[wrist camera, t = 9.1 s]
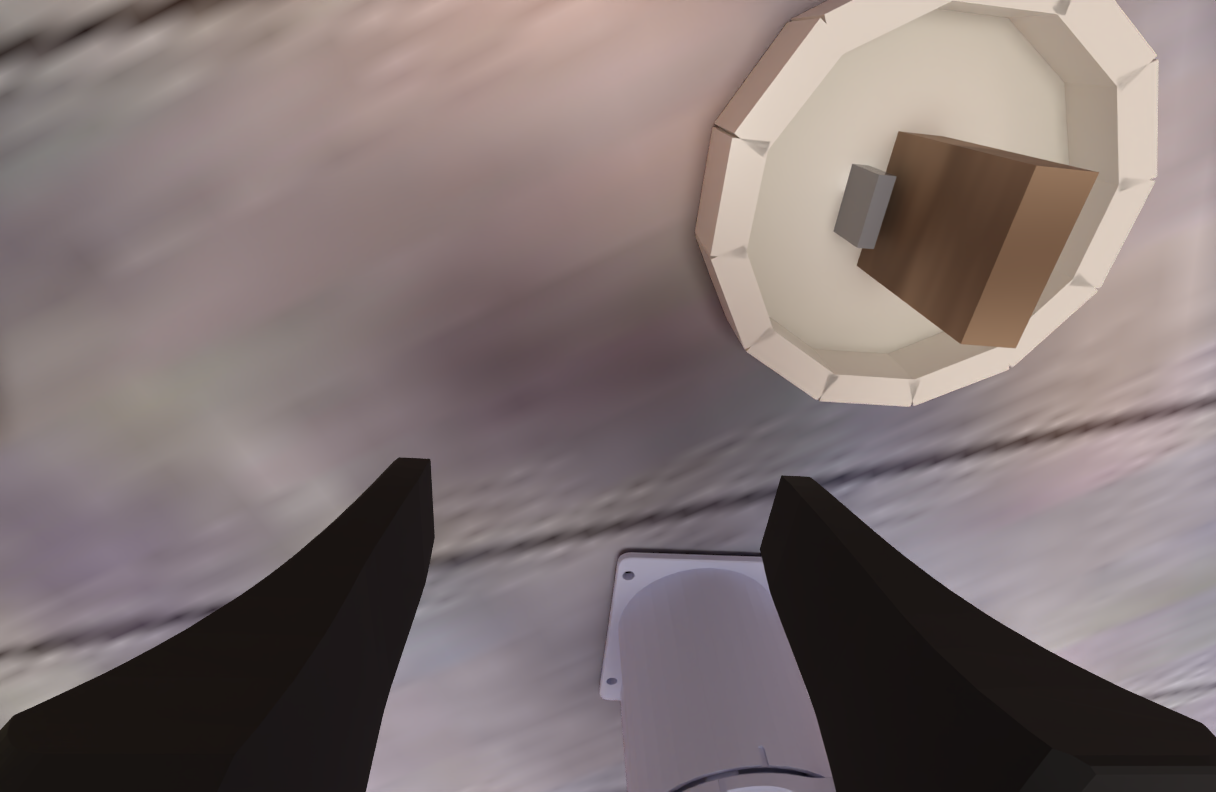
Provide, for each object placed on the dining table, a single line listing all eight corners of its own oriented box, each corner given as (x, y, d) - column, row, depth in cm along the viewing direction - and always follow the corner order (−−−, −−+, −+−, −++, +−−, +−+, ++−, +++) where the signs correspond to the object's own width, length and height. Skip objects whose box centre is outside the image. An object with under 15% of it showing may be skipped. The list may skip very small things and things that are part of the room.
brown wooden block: (897, 269, 20) (1015, 348, 14) (856, 265, 20) (961, 344, 14) (944, 136, 18) (1099, 172, 13) (898, 131, 18) (1036, 165, 12)
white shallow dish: (990, 379, 23) (1035, 414, 20) (673, 358, 22) (685, 393, 19) (1166, -4, 17) (1255, -12, 15) (743, -61, 16) (771, -79, 13)
